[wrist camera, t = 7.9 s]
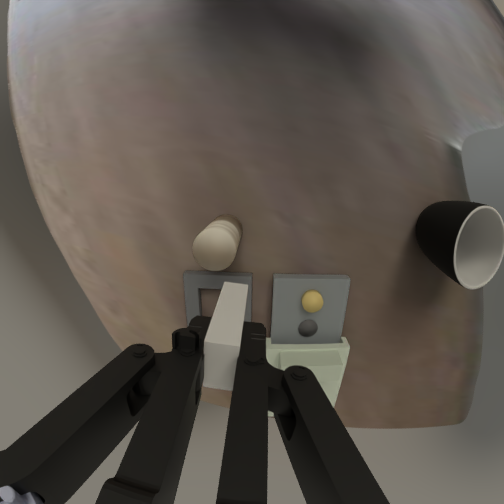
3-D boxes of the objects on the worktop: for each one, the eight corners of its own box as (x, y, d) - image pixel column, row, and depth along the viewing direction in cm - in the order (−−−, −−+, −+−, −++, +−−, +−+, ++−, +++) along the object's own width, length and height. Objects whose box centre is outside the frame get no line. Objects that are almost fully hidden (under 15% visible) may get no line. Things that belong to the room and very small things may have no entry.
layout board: (273, 273, 32) (274, 282, 30) (347, 274, 32) (353, 283, 30) (268, 355, 36) (269, 368, 33) (333, 355, 35) (337, 366, 33)
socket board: (185, 270, 33) (183, 273, 32) (252, 272, 32) (251, 276, 31) (194, 362, 37) (192, 367, 35) (250, 366, 36) (250, 371, 35)
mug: (414, 271, 32) (457, 304, 22) (399, 208, 30) (447, 223, 20) (474, 238, 30) (520, 258, 20) (463, 179, 28) (514, 186, 18)
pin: (211, 213, 31) (192, 227, 22) (243, 215, 31) (236, 229, 22) (210, 245, 32) (192, 269, 23) (241, 246, 32) (235, 272, 23)
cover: (266, 337, 33) (266, 364, 28) (345, 336, 33) (356, 362, 28) (262, 404, 36) (261, 431, 31) (329, 403, 36) (335, 428, 31)
